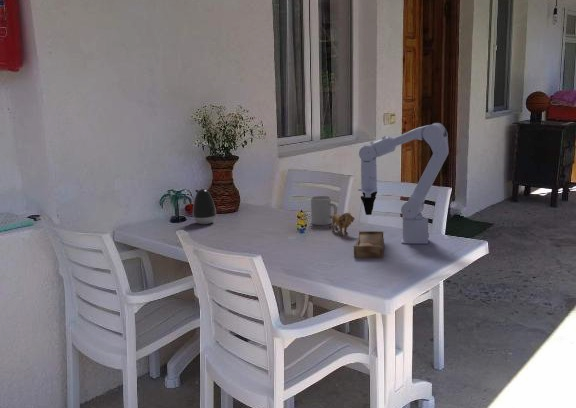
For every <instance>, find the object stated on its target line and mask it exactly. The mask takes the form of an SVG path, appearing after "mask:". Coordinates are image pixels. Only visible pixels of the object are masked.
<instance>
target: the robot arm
mask: <svg viewBox="0 0 576 408" xmlns="http://www.w3.org/2000/svg"><path fill="white" fill-rule="evenodd" d="M448 136H449V134H448V131H447V129H446V128H445V126H444V125H443V124H442V123H440V122H433V123H432V124H428V125H423V126H419V127H417V128H414V129H412V130H409V131H407V132H404V133H402V134H400V135H398V136H395V137H392V136H390V135H389V136H386V135H384V136H382V137H381V139H379V140H376V141H371V142H370V143H369V144H367V145H363V146H362V147H361V148H360V149H359V151H358V156H359V158H360V163H361V164H360V176H361V177H360V180H361V181H360V185H361V187H359V188H358V189H357V191H359V192H361V193H362V195H360V200H361V201H362V204H363V207H364V213H365V215H366V216H372V214H373V210H374V205H375V200H376V198H377V194H378V185H377V184H378V183H377V182H378V180H377V179H378V178H377V158H379V157H382V156H385V155H388V154H389V153H393V152H395V150H396V148H397V147H398V146H401V145H403V144H405V143H408V142H411V141H414V140H418V141H423V140H424V141H425V143H427V144H428V145H429V147H430V149H431V151H432V155H431V157H430V159H429V161H428V163H427V165H426V167H425V168H424V171H423V173H422V175H421V177H420V178H419V180H418V182H417V184H416V186H415V188H414V190H413V192H412V193H411V195H410V196H409V198H408V200H407V201H406V202H404V203H403V204H402V206H401V208H400V211H401V215H402V236H401V244H413V245H414V244H415V245H417V244H418V245H419V244H420V245H421V244H422V245H424V244H426V245H427V244H429V238H430V233H429V218H428V217H424V216H423V214H422V212H423V210H424V209H425V208H424V205H425V201H426V200H427V199H426V198H427V195H428V193H429V192H430V190H431V187H433V184H434V182H435V180H436V178H437V176H438V174H439V173H440V170H441V169H442V167H443V165H444V163H445V161H446V159H447V157H448V156H449V152H450V151H449V148H450V147H449V137H448Z"/></svg>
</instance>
